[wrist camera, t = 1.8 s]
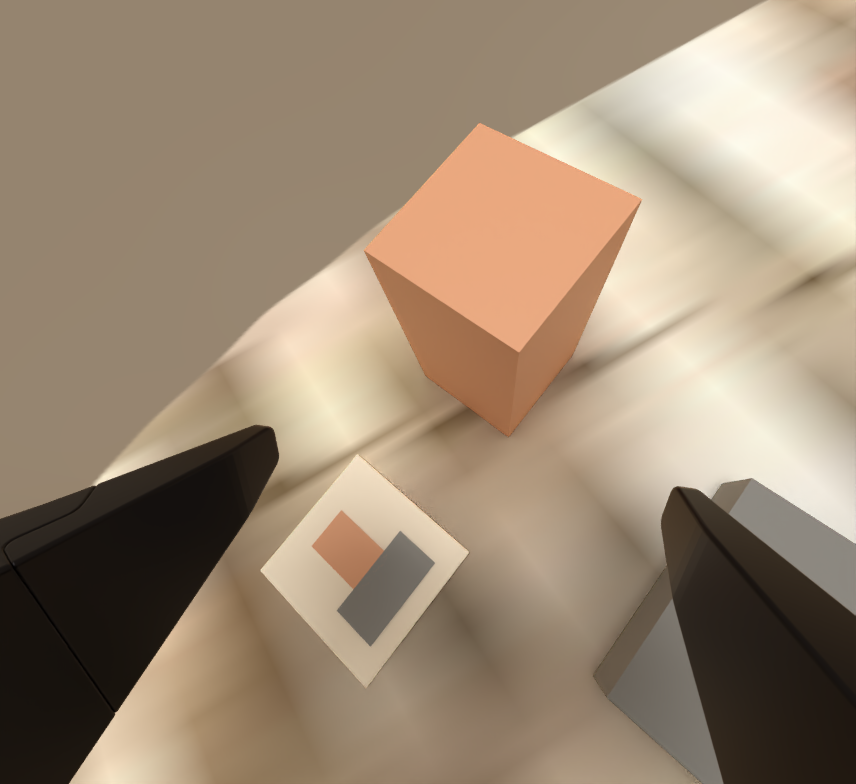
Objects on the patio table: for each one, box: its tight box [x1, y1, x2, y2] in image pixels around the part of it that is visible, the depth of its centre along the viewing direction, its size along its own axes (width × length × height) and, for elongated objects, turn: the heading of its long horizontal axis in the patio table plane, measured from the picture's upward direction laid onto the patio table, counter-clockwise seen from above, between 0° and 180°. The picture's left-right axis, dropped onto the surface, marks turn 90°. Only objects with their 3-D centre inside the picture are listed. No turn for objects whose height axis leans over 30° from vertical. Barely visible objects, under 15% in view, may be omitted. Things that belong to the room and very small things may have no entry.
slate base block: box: [593, 478, 856, 784], centre depth 17 cm, size 11×11×3 cm
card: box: [260, 454, 469, 688], centre depth 22 cm, size 8×8×1 cm
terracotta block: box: [364, 123, 642, 437], centre depth 18 cm, size 6×6×12 cm
